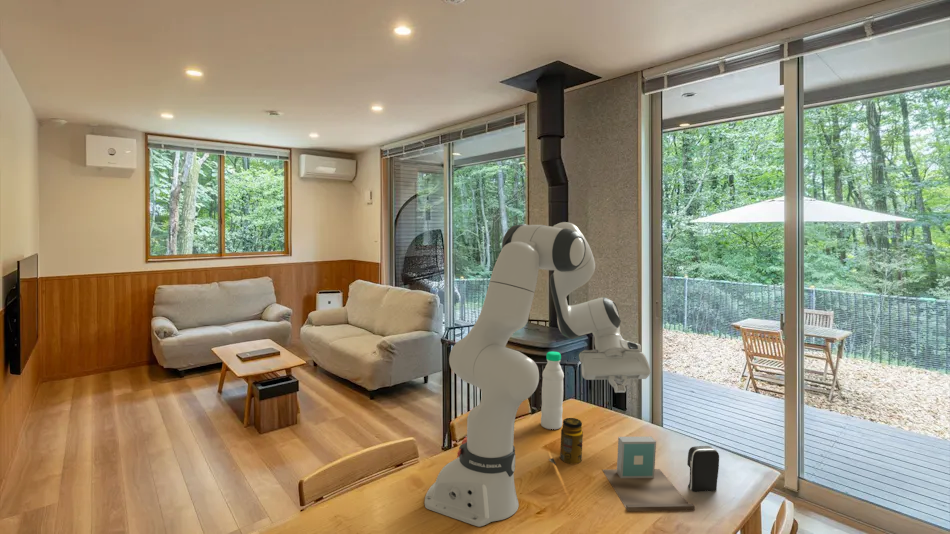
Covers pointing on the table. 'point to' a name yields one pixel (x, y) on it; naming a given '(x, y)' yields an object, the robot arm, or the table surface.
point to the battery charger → (703, 468)
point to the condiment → (571, 441)
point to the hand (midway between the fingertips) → (620, 391)
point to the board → (648, 493)
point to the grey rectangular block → (636, 457)
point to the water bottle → (552, 392)
